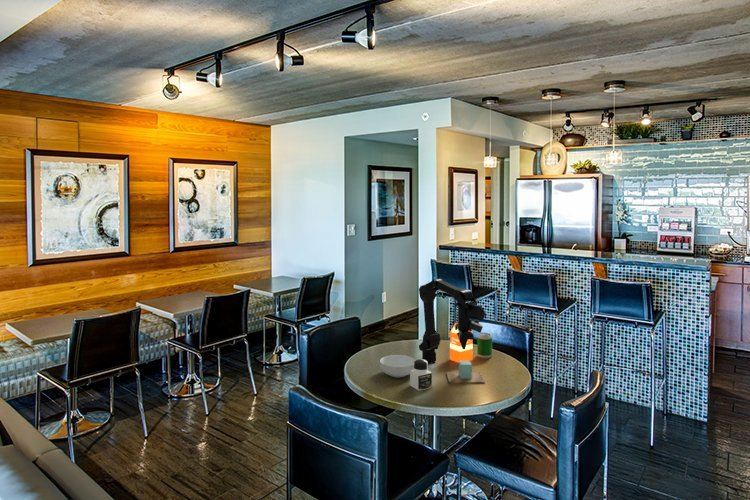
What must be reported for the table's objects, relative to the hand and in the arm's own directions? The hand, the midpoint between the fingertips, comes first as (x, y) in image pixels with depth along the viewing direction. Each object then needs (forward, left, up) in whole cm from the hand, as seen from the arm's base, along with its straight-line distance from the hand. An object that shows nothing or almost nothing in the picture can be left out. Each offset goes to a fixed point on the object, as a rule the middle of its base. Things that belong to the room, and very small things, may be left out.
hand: (463, 349), depth 234 cm
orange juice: (+2, +22, -13) cm, 25 cm away
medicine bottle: (-21, -15, -13) cm, 29 cm away
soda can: (+15, +27, -13) cm, 33 cm away
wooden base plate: (0, -5, -12) cm, 13 cm away
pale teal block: (0, -5, -12) cm, 13 cm away
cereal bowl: (-31, 0, -13) cm, 34 cm away
